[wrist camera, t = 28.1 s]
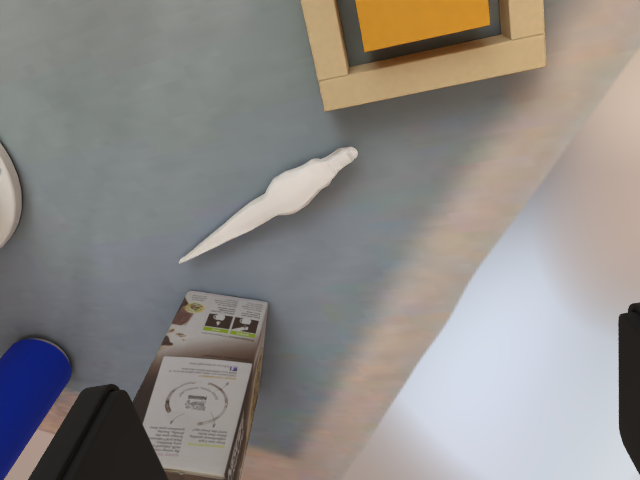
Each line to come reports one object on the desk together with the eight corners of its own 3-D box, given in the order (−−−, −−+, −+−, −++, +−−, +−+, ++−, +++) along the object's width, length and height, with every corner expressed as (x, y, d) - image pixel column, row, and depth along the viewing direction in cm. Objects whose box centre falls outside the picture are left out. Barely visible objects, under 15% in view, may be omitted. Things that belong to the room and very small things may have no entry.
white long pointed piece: (345, 127, 37) (344, 136, 36) (368, 160, 38) (368, 170, 37) (169, 243, 42) (162, 255, 40) (194, 270, 43) (187, 283, 41)
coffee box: (184, 288, 43) (98, 459, 29) (270, 300, 43) (227, 477, 29) (181, 383, 48) (104, 574, 33) (260, 394, 48) (218, 590, 33)
